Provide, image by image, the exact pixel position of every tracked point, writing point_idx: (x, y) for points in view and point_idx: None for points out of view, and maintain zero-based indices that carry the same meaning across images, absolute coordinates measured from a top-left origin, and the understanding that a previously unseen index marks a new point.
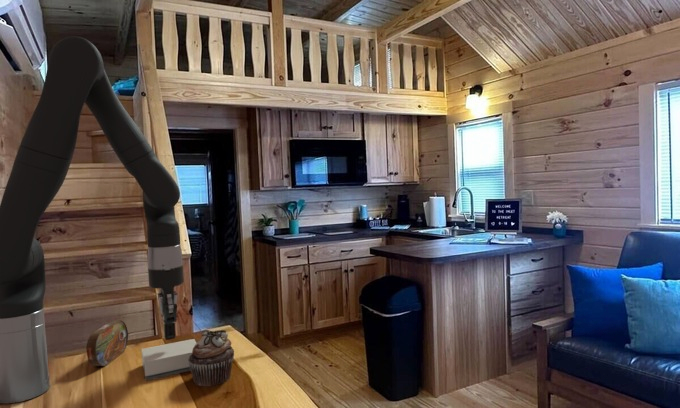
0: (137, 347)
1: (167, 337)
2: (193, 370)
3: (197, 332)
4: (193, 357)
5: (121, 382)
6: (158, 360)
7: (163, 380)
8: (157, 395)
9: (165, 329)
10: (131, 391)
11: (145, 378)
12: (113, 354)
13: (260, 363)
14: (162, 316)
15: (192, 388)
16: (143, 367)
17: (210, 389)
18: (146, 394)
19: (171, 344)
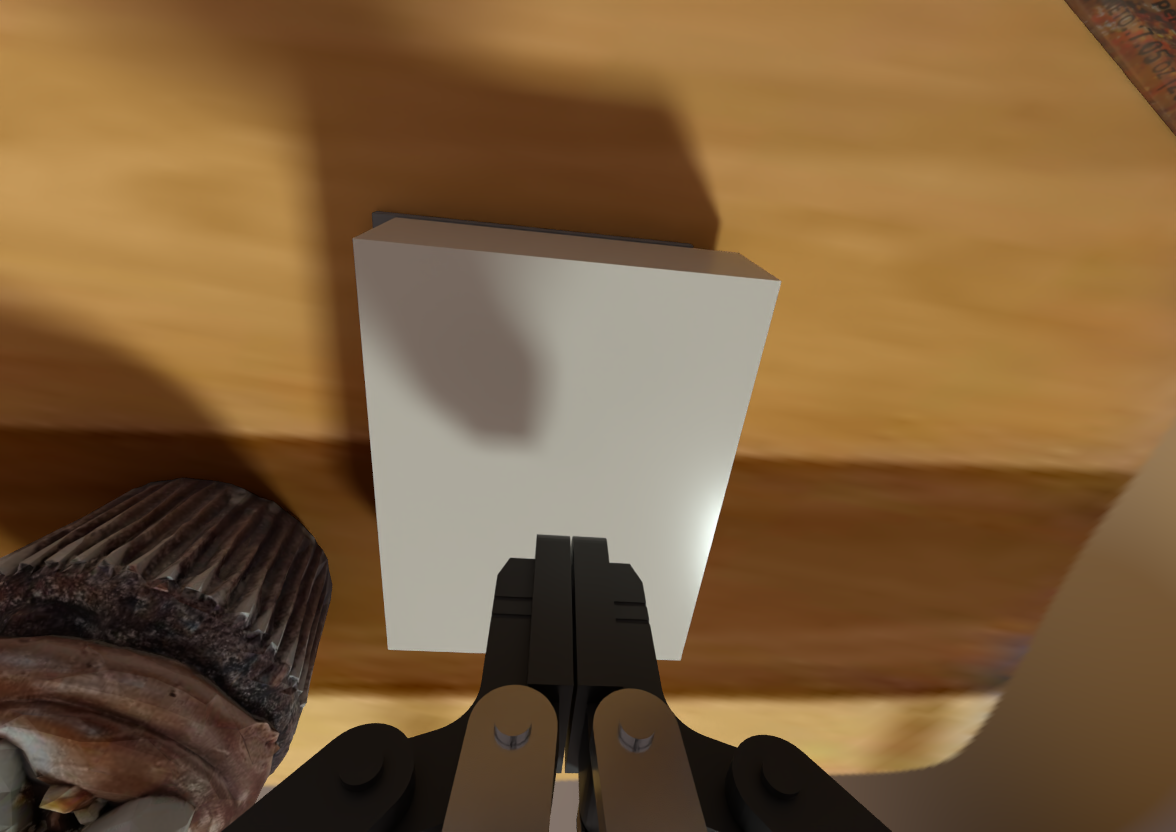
0: (1169, 281)
1: (506, 563)
2: (49, 536)
3: (1022, 650)
4: (10, 614)
5: (455, 3)
6: (368, 364)
7: (318, 327)
8: (45, 237)
9: (532, 626)
10: (200, 57)
11: (400, 214)
12: (1162, 23)
13: None
14: (735, 766)
15: (96, 452)
16: (634, 241)
17: (46, 527)
18: (91, 165)
19: (681, 520)
